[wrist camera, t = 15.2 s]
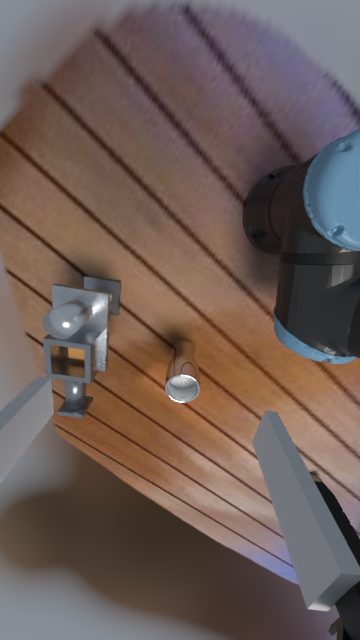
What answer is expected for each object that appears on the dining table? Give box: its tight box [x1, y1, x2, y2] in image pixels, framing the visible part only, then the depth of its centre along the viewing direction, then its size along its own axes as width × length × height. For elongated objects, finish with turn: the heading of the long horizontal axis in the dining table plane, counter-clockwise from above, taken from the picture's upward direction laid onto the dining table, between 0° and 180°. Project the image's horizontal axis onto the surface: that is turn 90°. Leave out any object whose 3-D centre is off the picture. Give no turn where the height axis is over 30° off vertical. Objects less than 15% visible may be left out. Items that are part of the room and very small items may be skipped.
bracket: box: [43, 330, 101, 418], centre depth 40 cm, size 17×8×5 cm, turn 171°
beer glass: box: [165, 340, 200, 403], centre depth 46 cm, size 7×7×15 cm
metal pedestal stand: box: [43, 276, 121, 371], centre depth 41 cm, size 16×10×18 cm, turn 171°
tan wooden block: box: [68, 320, 110, 360], centre depth 45 cm, size 4×4×12 cm
